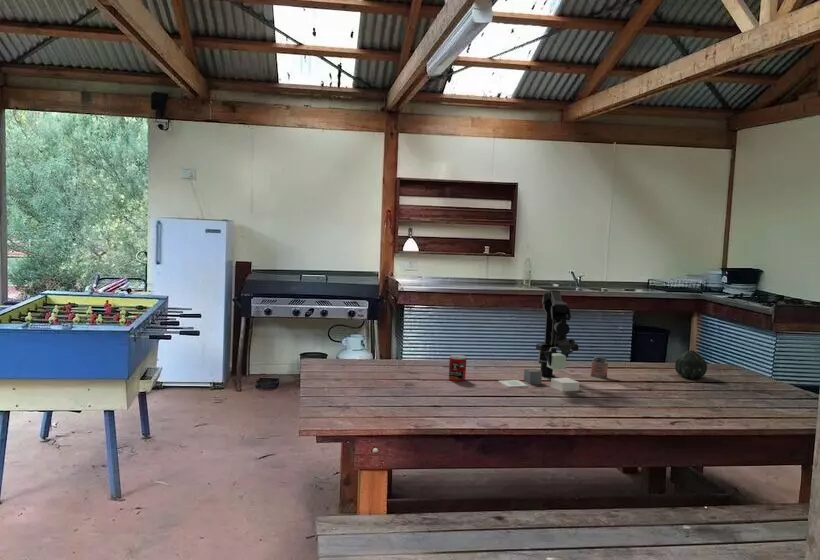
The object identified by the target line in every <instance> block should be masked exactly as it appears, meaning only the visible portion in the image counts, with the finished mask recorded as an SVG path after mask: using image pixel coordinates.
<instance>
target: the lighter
mask: <svg viewBox="0 0 820 560" xmlns="http://www.w3.org/2000/svg"><path fill="white" fill-rule="evenodd" d="M607 361H608V358H607V357H601V356H594V358H593V360H591V368H590V369H591V371H590V377H593V378H599V379H608V365H609V362H607Z"/></svg>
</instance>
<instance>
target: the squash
mask: <svg viewBox="0 0 820 560" xmlns="http://www.w3.org/2000/svg"><path fill="white" fill-rule="evenodd" d="M674 369H675V371H676V373H677V374H678V375H680V376H683V378H685V379H691V380H692V379H696V380H699V379H701V378H702V377H703V376H705V375H706V373H707V370H708V364H707V361H706V360H705V357H703V356H702V355H700V354H699V352H698V353H697V352H696V351H694V350H687V351H685V352H683V353H681V354H680V355H678V356H677V357H676V359H675V364H674Z"/></svg>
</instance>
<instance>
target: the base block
mask: <svg viewBox="0 0 820 560" xmlns="http://www.w3.org/2000/svg"><path fill="white" fill-rule="evenodd" d="M550 379H551V380H550V387H551V388H553V389H556V390H557V391H559V392H575V391H577V392H578V391H580V382H579V381H577V380H575V379H573V378H569V377H555V378H553V377H552V378H550Z"/></svg>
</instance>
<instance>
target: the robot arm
mask: <svg viewBox="0 0 820 560" xmlns="http://www.w3.org/2000/svg"><path fill="white" fill-rule="evenodd" d="M541 304H542V308H543V310H544V312H545V322H544V323H545V325H544V342H537V343H536V345H535V349H536V350H538V355H537V363H538V364H539V365H540V369H539V370H540V371H542V378H548V377H549V378H551V377H552V378H553V377H555V378H556V374H553V371H554V370H553V369H551V368H549V367H547V361H548V364H549V366H551V358H552V353H558V352H557V350H560V351H561V352H560V354H562V355H565V356H566V360H567V358H568V357H569V355H570V354H572V353H574V352H575V351H576V352H577V351H580V346H579V344H578V343H576V340H575V339H571V338H570V339H568V338H567V335H568V334H569V332H570V326H569V324H568V323H567V321H571V318H572V313H571V308H570V306H568V303H567V302H564V301H563V299H562V295H561V292H560V290H557V289H556V290H554V289H550V290H548V292H546V293H544V294H543V296H542V297H541Z"/></svg>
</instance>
